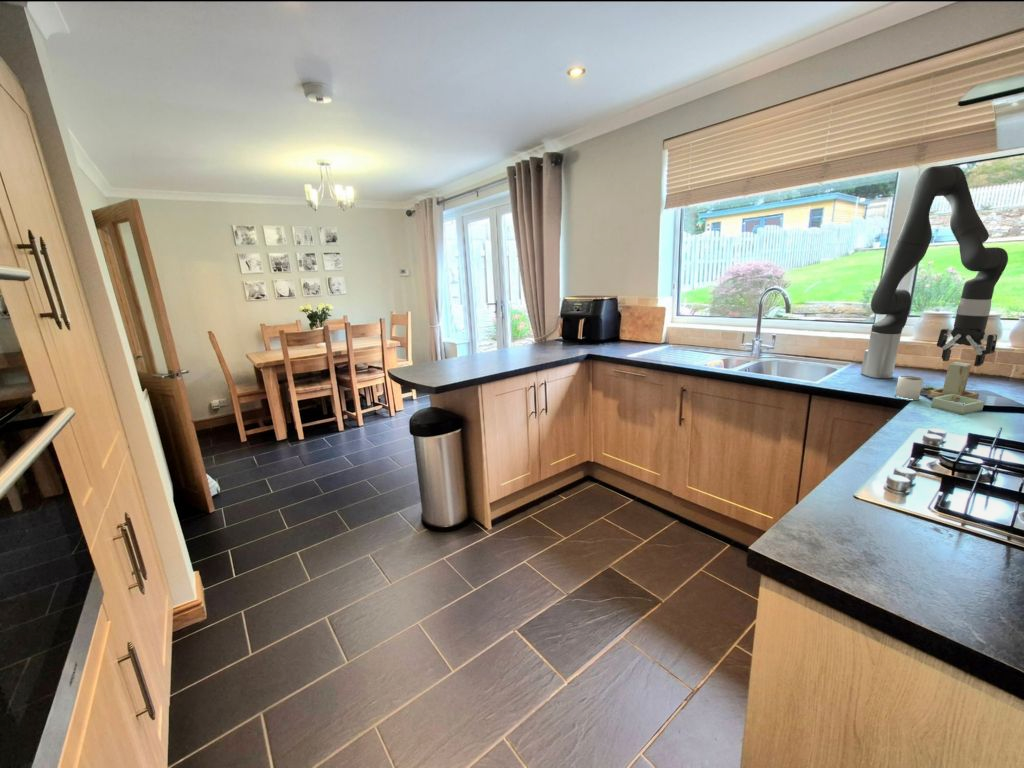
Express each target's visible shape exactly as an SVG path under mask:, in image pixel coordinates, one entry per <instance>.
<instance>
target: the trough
mask: <svg viewBox="0 0 1024 768" xmlns="http://www.w3.org/2000/svg"><path fill="white" fill-rule="evenodd" d="M952 396H954V397H959V398H960V399H959V402H961V403H965V404H964V405H963V404H958V403H954V402H950V401H951V399H952ZM984 404H985V401H983V400H980V399H978V400H977V399H972V398H968V397H964V396H959V395H955V394H949V395H944V396H939V397H934V398H933V399H931V404H930V407H931V408H933V407H934V409H938V410H941V411H946V412H950V413H953V414H957V415H961V416H964V415H969V414H973V413H978V412H982V411H983V408H984Z"/></svg>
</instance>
